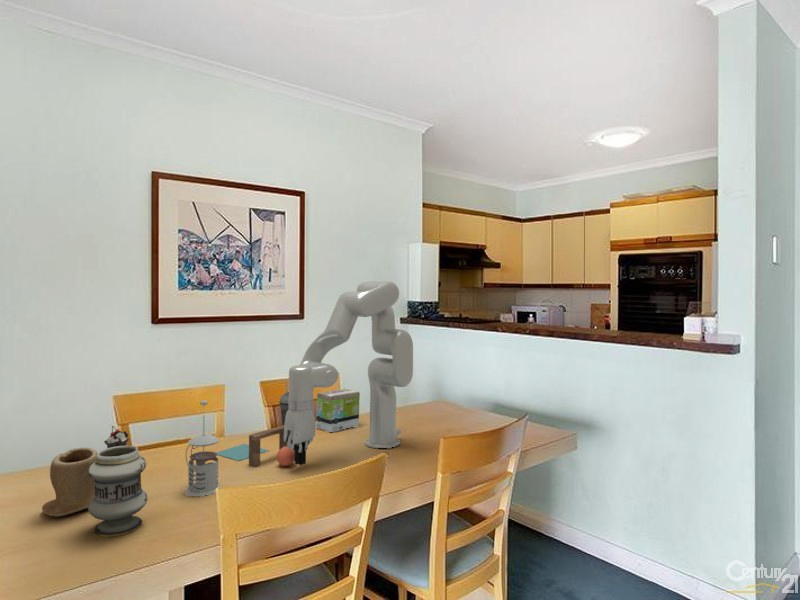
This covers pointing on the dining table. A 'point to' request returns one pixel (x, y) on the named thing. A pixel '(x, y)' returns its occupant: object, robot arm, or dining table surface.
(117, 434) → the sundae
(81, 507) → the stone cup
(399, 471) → the dining table surface
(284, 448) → the ball
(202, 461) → the french press
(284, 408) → the beverage cup
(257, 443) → the bridge
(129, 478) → the apothecary jar
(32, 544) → the dining table surface
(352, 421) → the tea box
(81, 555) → the dining table surface
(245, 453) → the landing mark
